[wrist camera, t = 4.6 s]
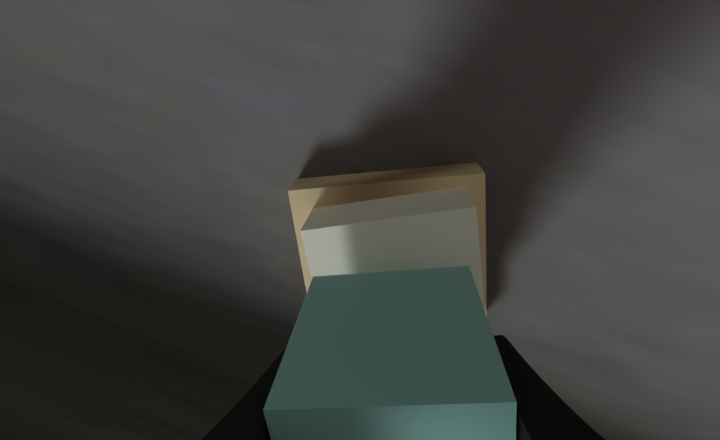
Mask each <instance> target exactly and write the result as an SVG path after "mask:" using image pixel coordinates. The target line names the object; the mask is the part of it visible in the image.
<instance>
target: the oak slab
mask: <svg viewBox="0 0 720 440" xmlns="http://www.w3.org/2000/svg"><path fill="white" fill-rule="evenodd" d="M458 187H465V188H466V189H467V191H468V193H469V195H470V197H471V198H472V200H473V202H474V204H475V206H476V210H477V222H478V234H479V245H480V257H481V269H482V281H483V293H484V304H485V313H486V316H487V301H486V191H485V172H484V171H483V169H482V168H481V167H480V166H479V164H478V163H477V162H474V163H464V164H453V165H442V166H431V167H420V168H409V169H399V170H388V171H377V172H366V173H355V174H345V175H334V176H323V177H312V178H301V179H297V180H296V181H295V183H294V184H293V185H292V186H291V187H290V189H289V190H288V194H289V199H290V205H291V210H292V216H293V221H294V226H295V232H296V237H297V243H298V248H299V254H300V259H301V265H302V270H303V275H304V281H305V286H306V292H307V291H308V289H309V286H310V283H311V281H312V278H311V274H310V270H309V266H308V262H307V257H306V253H305V249H304V245H303V241H302V237H301V233H300V230H301V228H302V227H303V225H304V223H305V221H306V220H307V218H308V216H309V214H310V212H311V211H312V209H313V208H318V207H325V206H332V205H339V204H346V203H353V202H360V201H367V200H374V199H381V198H388V197H395V196H402V195H409V194H416V193H423V192H430V191H437V190H444V189H451V188H458Z"/></svg>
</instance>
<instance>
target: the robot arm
mask: <svg viewBox="0 0 720 440" xmlns="http://www.w3.org/2000/svg"><path fill="white" fill-rule="evenodd" d="M494 339H495V342H496V345H497V347H498V350H499V353H500V356H501V359H502V362H503V365H504V367H505V370H506V373H507V376H508V379H509V382H510V384H511V387H512V390H513V393H514V396H515V399H516V402H517V414H516V440H605V439H604V438H603V437H601V436H600V435H599V434H598V433H597V432H596V431H595V430H594V429H592V428H591V427H590V426H589V425H588V424H587V423H586V422H585V421H584V420H583V419H582V418H580V417H579V416H578V415H577V414H576V413H575V412H574V411H573V410H572V409H571V408H570V407H569V406H568V405H567V404H566V403H565V402H564V401H563V400H562V399H561V398H560V397H559V396H558V395H557V394H556V393H555V392H554V391H553V390H552V389H551V388H550V387H549V386H548V385H547V384H546V383H545V382H544V381H543V380H542V379H541V378H540V376H539V375H538V374H537V373H536V372H535V371H534V370H533V369H532V368H531V367H530V365H529V364H528V363H527V362H526V361H525V360H524V359H523V357H522V356H521V355H520V354H519V353H518V352H517V350H516V349H515V348H514V347H513V346H512V344H511V343H510V342H509V341H508V339H507V338H505V337H504V336H503V335H498V336H494ZM285 350H286V348H285V349H284V350H283V352H282V353H281V354H280V355H279V356H278V357H277V358H276V360H275V361H274V362H273V363H272V364H271V365H270V367H269V368H268V369H267V370H266V371H265V373H264V374H263V375H262V376H261V377H260V378H259V379H258V381H257V382H256V383H255V384H254V385H253V386H252V387H251V389H250V390H249V391H248V392H247V393H246V394H245V395H244V396H243V398H242V399H241V400H240V401H239V402H238V403H237V404H236V405H235V406H234V407H233V409H232V410H231V411H230V412H229V413H228V414H227V415H226V416H225V417H224V418H223V419H222V420H221V421H220V422H219V423H218V424H217V425H216V426H215V427H214V428H213V429H212V430H211V431H210V432H209V433H208V434H207V435H206V436H205V437H204V438H203V439H202V440H271V438H270V435H269V431H268V427H267V423H266V419H265V416H264V412H263V409H264V406H265V404H266V401H267V398H268V396H269V393H270V390H271V388H272V385H273V382H274V380H275V377H276V374H277V372H278V369H279V366H280V364H281V361H282V358H283V356H284V353H285Z"/></svg>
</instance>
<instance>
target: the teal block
mask: <svg viewBox="0 0 720 440" xmlns="http://www.w3.org/2000/svg"><path fill="white" fill-rule="evenodd" d="M263 412H264V416H265V419H266V423H267V427H268V431H269V435H270V438H271V440H516V414H517V402H516V399H515V396H514V393H513V390H512V387H511V384H510V382H509V379H508V376H507V373H506V370H505V367H504V365H503V362H502V359H501V356H500V353H499V350H498V347H497V345H496V342H495V339H494V336H493V333H492V330H491V328H490V325H489V322H488V319H487V316H486V313H485V310H484V308H483V305H482V302H481V299H480V296H479V293H478V291H477V288H476V285H475V282H474V279H473V276H472V273H471V271H470V268H469V266H458V267H444V268H429V269H415V270H401V271H386V272H372V273H357V274H343V275H328V276H314V277H313V278H312V281H311V283H310V286H309V289H308V291H307V294H306V297H305V299H304V302H303V305H302V307H301V310H300V313H299V315H298V318H297V321H296V323H295V326H294V329H293V331H292V334H291V337H290V339H289V342H288V345H287V347H286V350H285V353H284V356H283V358H282V361H281V364H280V366H279V369H278V372H277V374H276V377H275V380H274V382H273V385H272V388H271V390H270V393H269V396H268V398H267V401H266V404H265V406H264V409H263Z"/></svg>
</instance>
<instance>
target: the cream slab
mask: <svg viewBox="0 0 720 440" xmlns="http://www.w3.org/2000/svg"><path fill="white" fill-rule="evenodd" d="M300 233H301V237H302V241H303V245H304V249H305V253H306V257H307V262H308V266H309V270H310V274H311V278H313V277H314V276H328V275H343V274H357V273H372V272H386V271H401V270H415V269H429V268H444V267H458V266H469V268H470V271H471V273H472V276H473V279H474V282H475V285H476V288H477V291H478V293H479V296H480V299H481V302H482V305H483V308H484V310H485V304H484V293H483V281H482V269H481V257H480V245H479V234H478V222H477V210H476V206H475V204H474V202H473V200H472V198H471V197H470V195H469V193H468V191H467V189H466V188H465V187H458V188H451V189H444V190H437V191H430V192H423V193H416V194H409V195H402V196H395V197H388V198H381V199H374V200H367V201H360V202H353V203H346V204H339V205H332V206H325V207H318V208H313V209H312V211H311V212H310V214H309V216H308V218H307V220H306V221H305V223H304V225H303V227H302V228H301V230H300Z"/></svg>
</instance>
